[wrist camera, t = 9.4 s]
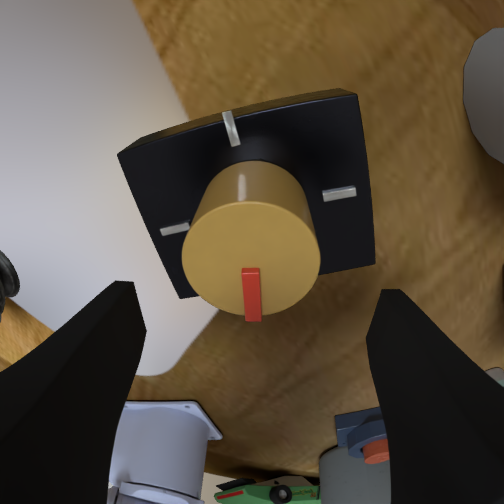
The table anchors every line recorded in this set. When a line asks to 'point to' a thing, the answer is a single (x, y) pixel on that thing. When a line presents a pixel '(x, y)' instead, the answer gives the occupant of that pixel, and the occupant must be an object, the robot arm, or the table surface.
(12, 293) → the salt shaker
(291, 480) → the toy car
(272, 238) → the pointer wheel
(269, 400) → the table surface
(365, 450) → the button
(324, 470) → the water bottle
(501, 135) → the cup
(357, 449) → the button block
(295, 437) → the table surface
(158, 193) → the dial panel
